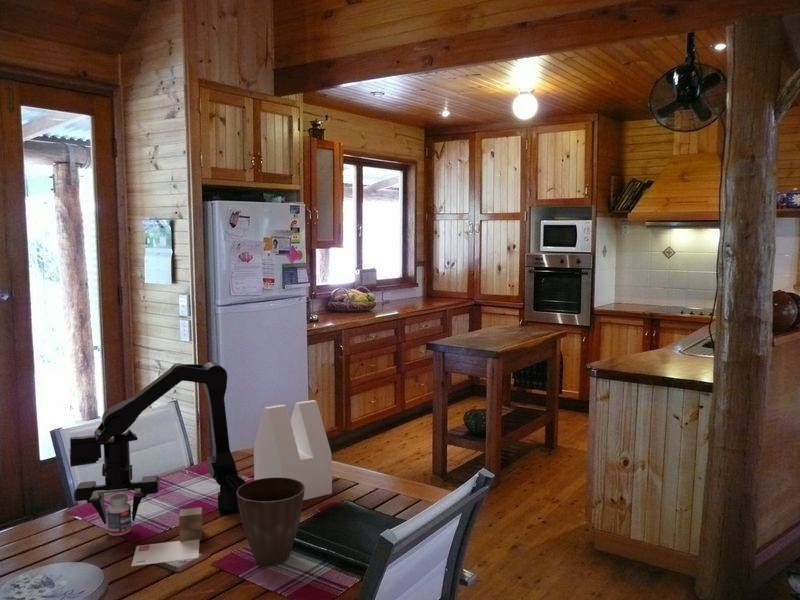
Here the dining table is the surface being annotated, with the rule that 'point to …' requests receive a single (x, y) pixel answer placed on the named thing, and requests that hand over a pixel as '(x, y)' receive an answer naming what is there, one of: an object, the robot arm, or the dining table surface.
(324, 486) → the white forked block
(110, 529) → the pill bottle
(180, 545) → the letter
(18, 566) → the dining table surface
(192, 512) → the walnut block
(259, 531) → the plant pot
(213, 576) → the dining table surface
